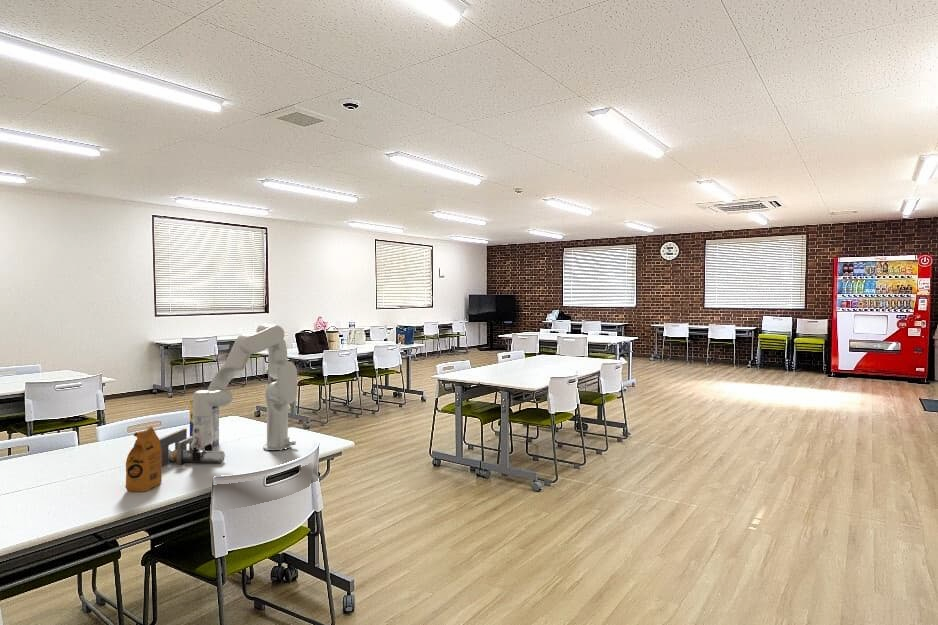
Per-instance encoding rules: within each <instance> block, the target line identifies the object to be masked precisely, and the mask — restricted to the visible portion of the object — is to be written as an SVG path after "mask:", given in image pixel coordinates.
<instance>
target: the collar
mask: <svg viewBox="0 0 938 625" xmlns="http://www.w3.org/2000/svg"><path fill="white" fill-rule="evenodd" d="M191 443H192V436H191V437H190V436H189V437H187V438H186V439H184V440H182V441H180V442H178V443H177V462H176V465H181V466H183V465H184V462H183V446H184V445H186V444H187V445H188V447H189V448H188V450H191V446H190V444H191Z"/></svg>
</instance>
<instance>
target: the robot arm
mask: <svg viewBox="0 0 938 625" xmlns="http://www.w3.org/2000/svg"><path fill="white" fill-rule="evenodd" d="M255 332H256V333H254V334H248V333H243V334H240V335H238V336H237V338H236V339H235V341H234V343H233V345H232V348H231V350H230V351H229V354H228V356H227V358H226V359H225V362H224V364H223V365H222V366H221V367H220V368H219V369H218V371H217V372H216V373H215V375H214V376H213V377H212V380H211V381H210V384H209V386H208V388H207V390H206V389H205V390H203V389H201V390H196V391H195V392H194V393H193V394H192V400H193V424H194V425H193V433H192V443H191V444H190V446H191V450H192V461H193V462H192V463H201V462H200V452H199V451H201V449H202V448H204V451H213V447H212V445H213V443H212V442H213V441H214V431H213V423H212V407H213V406H219V408H220V407H226V406H229V405H230V404H231V403H232V401H233V399H234V398H233V393H232V392H231V391H229V390H228V389H227V386H228V385H229V383H230V382H231V381H232V380H233V379H234V378H235V377H236V376H238V375H239V374H241V373H242V372H243V371H244V370H245V368H246V365H248V364H247V363H248V361H249V359H250V357H251V355H255V354H258V353H260V352H263V351H265V350H268V351H267V354H268V363H267V364H268V370H267V371H268V375H269V376H270V378H272V379H273V380H277V381H273V382H270V383H269V384H268V385H267V387H266V388H265V392H264V394H265V402H266V444H263V450H264V449H265V451H268V450H280V451H282V450H281V449H285V448H289V447H290V446H291V447H292V446H295V445H296V444H297V441H296V440H295V439H293V440H292V439H291V438H290V436H289V434H288V432H289V431H288V430H289V427H288V426H289V409H288V405H291V404H293V403H294V402H295V400H296V398H297V396H298V395H297V394H298V370H297V366H296V364H294V363H293V362H291V361H289V360H288V347H287V343H286V341H285V339H284V337H285V330H284V328H283V327H281V326H280V325H278V324H271V323H262V324H260V325H258V326H257V327H256V331H255ZM291 447H290V448H291ZM290 448H289V449H290Z"/></svg>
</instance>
